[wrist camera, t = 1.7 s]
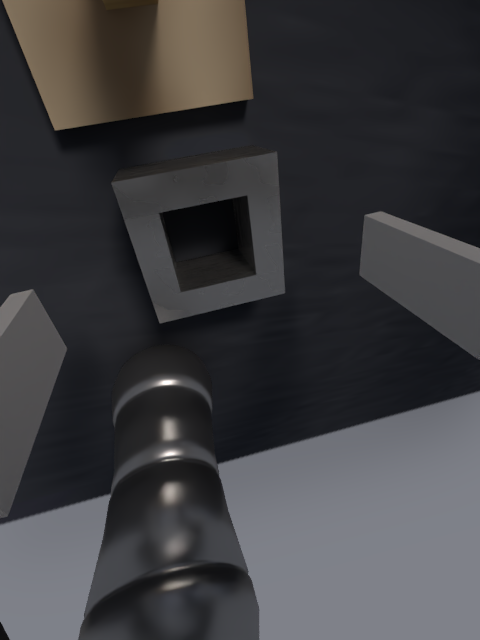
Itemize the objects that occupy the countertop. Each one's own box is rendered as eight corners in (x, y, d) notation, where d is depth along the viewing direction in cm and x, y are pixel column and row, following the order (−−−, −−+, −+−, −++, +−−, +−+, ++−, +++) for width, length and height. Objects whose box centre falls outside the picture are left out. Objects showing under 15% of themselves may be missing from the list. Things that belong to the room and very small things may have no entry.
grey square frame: (252, 144, 17) (276, 151, 13) (263, 265, 21) (285, 293, 17) (119, 168, 16) (111, 182, 13) (158, 289, 20) (159, 323, 16)
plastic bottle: (224, 362, 24) (373, 864, 8) (163, 412, 26) (186, 928, 9) (160, 315, 21) (196, 1039, 4) (94, 376, 22) (-63, 1101, 6)
